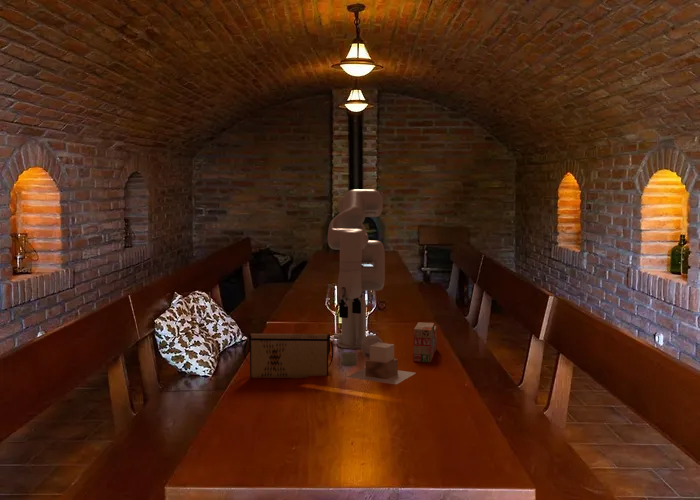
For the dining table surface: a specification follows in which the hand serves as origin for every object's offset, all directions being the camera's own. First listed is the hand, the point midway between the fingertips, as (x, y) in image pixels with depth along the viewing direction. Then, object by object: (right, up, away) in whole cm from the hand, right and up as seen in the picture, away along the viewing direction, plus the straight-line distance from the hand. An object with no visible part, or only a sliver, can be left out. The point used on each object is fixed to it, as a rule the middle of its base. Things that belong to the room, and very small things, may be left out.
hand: (350, 315), depth 256 cm
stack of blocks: (+28, -17, +21) cm, 39 cm away
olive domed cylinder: (0, -18, +2) cm, 19 cm away
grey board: (+10, -20, -12) cm, 25 cm away
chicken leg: (+9, -18, +13) cm, 24 cm away
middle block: (+11, -14, -12) cm, 21 cm away
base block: (+10, -19, -12) cm, 24 cm away
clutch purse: (-20, -20, -10) cm, 30 cm away
